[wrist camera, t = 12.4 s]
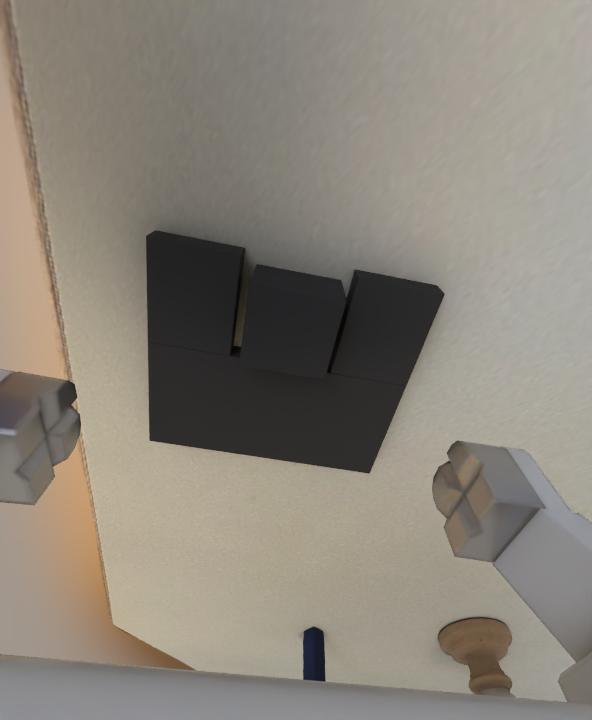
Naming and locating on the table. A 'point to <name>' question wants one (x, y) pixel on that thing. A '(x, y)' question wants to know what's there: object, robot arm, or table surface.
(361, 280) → the black u-shaped block
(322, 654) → the eraser
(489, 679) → the candle holder
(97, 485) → the table surface
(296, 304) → the black cube
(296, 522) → the table surface
